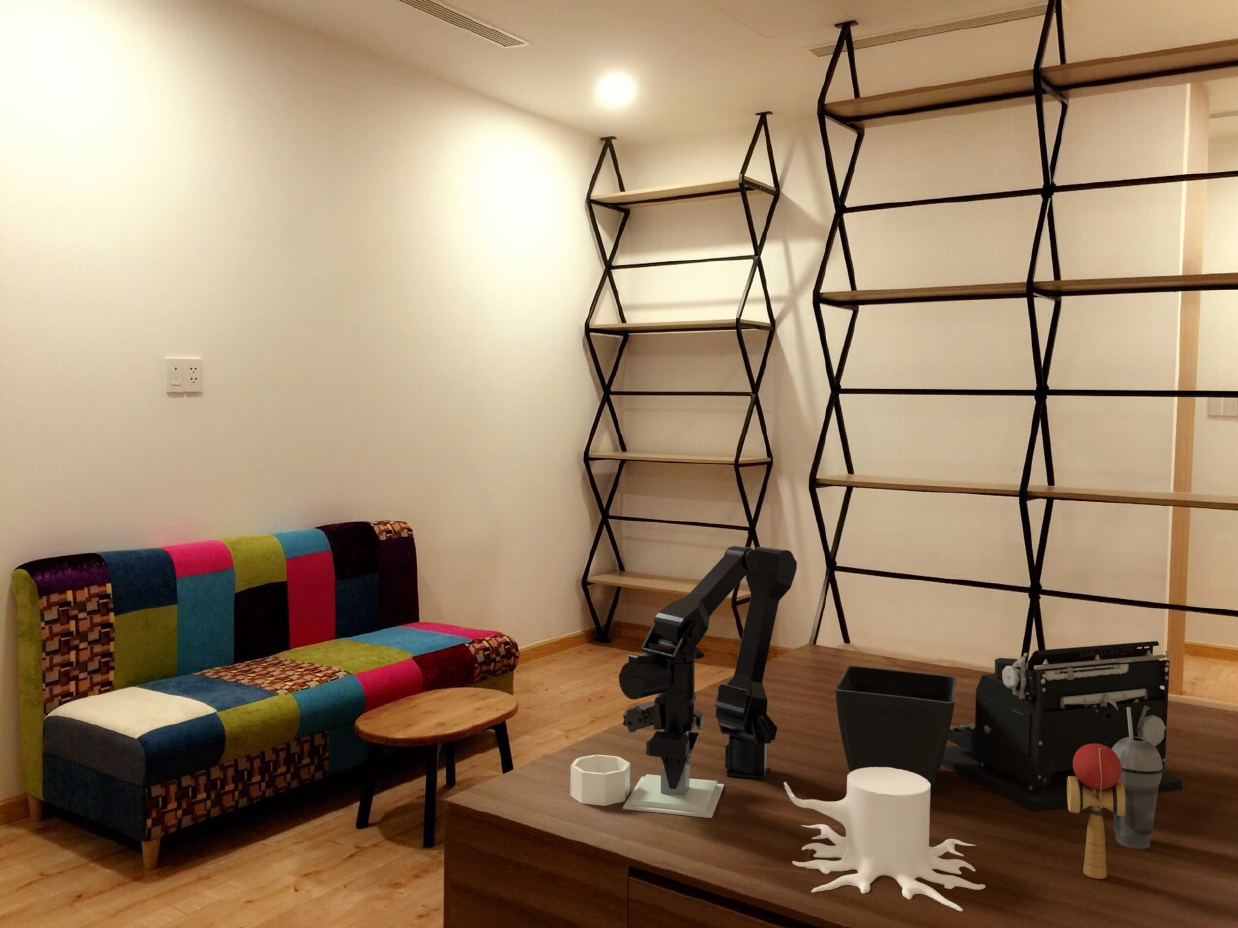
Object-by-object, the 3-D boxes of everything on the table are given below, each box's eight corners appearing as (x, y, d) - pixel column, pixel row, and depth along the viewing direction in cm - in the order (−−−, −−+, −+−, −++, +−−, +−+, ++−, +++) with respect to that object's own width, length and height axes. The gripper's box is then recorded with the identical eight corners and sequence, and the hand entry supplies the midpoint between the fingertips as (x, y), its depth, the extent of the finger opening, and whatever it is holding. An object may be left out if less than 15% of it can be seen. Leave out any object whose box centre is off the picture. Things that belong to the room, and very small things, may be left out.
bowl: (633, 787, 169) (633, 757, 168) (620, 807, 160) (621, 776, 160) (580, 782, 171) (581, 752, 171) (565, 801, 162) (565, 770, 162)
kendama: (1056, 875, 138) (1060, 743, 137) (1068, 859, 143) (1072, 732, 142) (1118, 891, 133) (1123, 756, 132) (1128, 875, 138) (1133, 744, 137)
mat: (723, 786, 170) (723, 784, 170) (711, 817, 156) (711, 815, 156) (641, 778, 173) (641, 776, 173) (623, 808, 159) (623, 806, 159)
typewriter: (1060, 743, 196) (1064, 614, 195) (1182, 792, 170) (1187, 644, 169) (926, 760, 185) (929, 623, 184) (1034, 814, 160) (1039, 656, 159)
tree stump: (772, 888, 134) (774, 802, 133) (792, 810, 161) (794, 739, 160) (995, 917, 127) (998, 827, 126) (977, 831, 154) (979, 756, 153)
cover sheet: (717, 785, 169) (717, 757, 169) (706, 812, 157) (706, 781, 157) (646, 778, 172) (646, 750, 172) (630, 804, 160) (631, 774, 160)
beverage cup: (1168, 855, 144) (1172, 716, 144) (1112, 850, 146) (1117, 712, 145) (1151, 835, 152) (1156, 702, 151) (1099, 830, 153) (1103, 699, 152)
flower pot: (954, 767, 181) (956, 673, 180) (952, 805, 163) (954, 701, 162) (845, 754, 187) (847, 664, 186) (832, 789, 169) (834, 689, 168)
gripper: (640, 671, 175) (638, 760, 175) (614, 699, 157) (613, 799, 157) (704, 675, 172) (702, 766, 173) (685, 705, 154) (684, 806, 155)
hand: (675, 783), depth 164 cm, fingers closed on cover sheet, 4 cm apart
